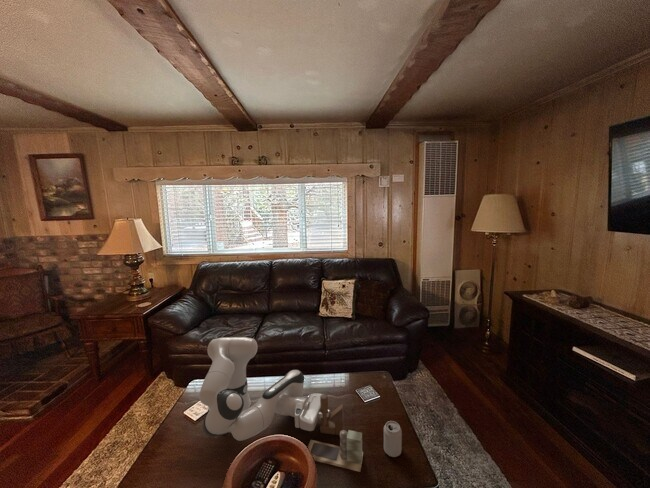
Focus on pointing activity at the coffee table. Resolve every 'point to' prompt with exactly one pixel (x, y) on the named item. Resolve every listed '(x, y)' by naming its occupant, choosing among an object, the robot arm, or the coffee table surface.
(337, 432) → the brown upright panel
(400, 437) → the can
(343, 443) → the hinge jig
